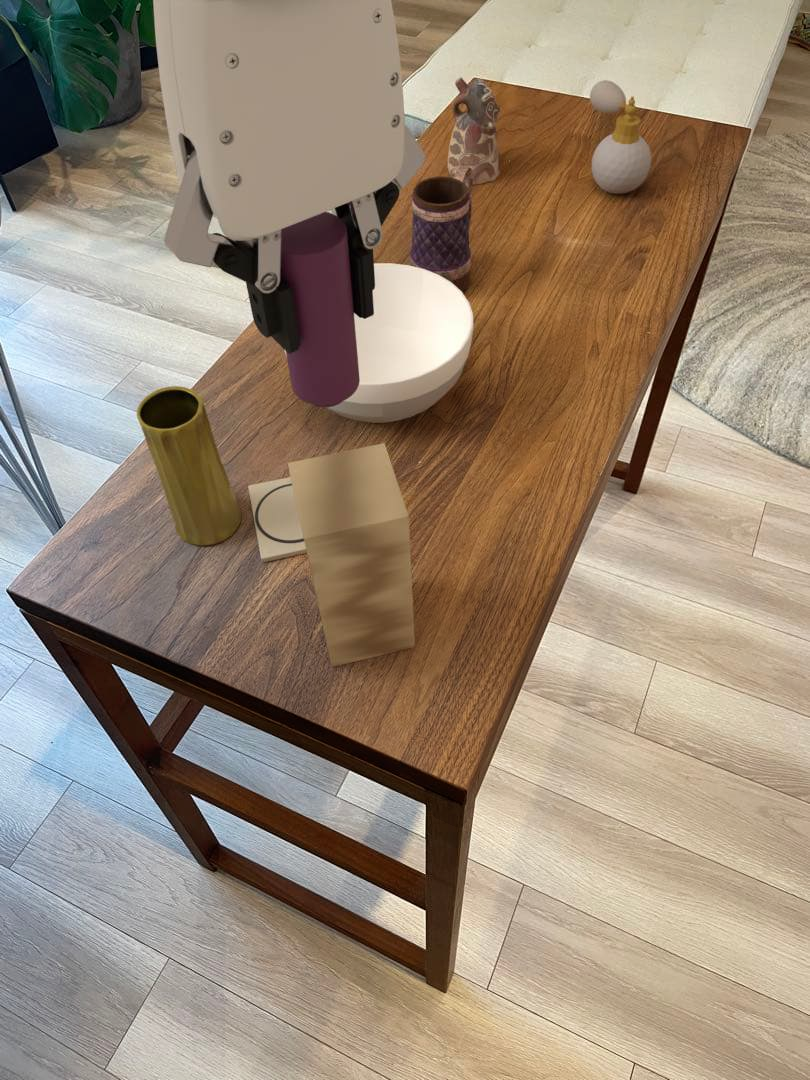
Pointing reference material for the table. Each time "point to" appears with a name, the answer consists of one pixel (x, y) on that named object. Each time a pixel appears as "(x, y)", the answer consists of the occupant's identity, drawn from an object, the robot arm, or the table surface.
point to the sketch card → (276, 519)
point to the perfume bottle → (619, 143)
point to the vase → (189, 465)
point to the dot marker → (321, 310)
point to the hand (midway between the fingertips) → (317, 319)
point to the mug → (443, 225)
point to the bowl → (408, 345)
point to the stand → (357, 551)
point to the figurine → (475, 131)
